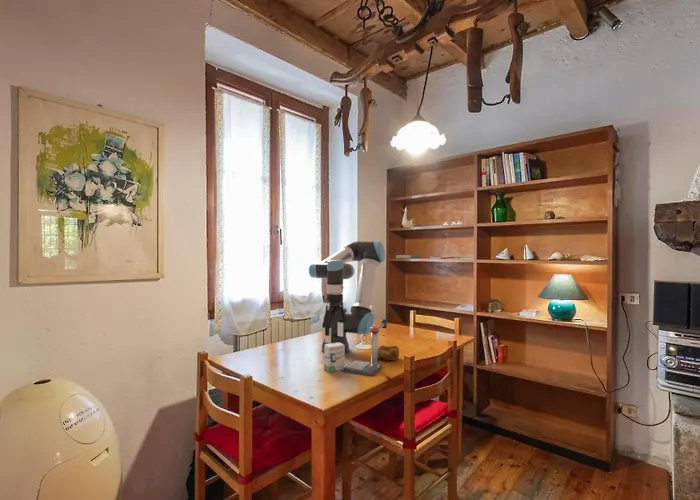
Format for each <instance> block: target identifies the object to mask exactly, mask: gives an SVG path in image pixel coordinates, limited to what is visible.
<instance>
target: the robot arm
mask: <svg viewBox="0 0 700 500" xmlns="http://www.w3.org/2000/svg"><path fill="white" fill-rule="evenodd" d="M385 258H386V251H385V246H384V244H383V243H382V241H375V240H374V241H353V242H350V243H348V244H345V245H343V246H342V247H340V249H339V250H338V251H337V252H335V253H334V254H332V255H330V256H328V257H327V258H325V259H324V260H321V261H320V262H311V264H310V265H309V266H308V267H309V268H308V274H309V276H310V277H311V278H316V279H326V293H327V294H326V302H327V303H329V305H327V304H325V312H324V316H323V322H322V328H323V329H324V337H323V341H322V345H321V352H323V353H324V345H325V344H330V343H339V342H340V343H342V344H344V345H345V354H347V353H349V352H350V344H349V342H348V337H347V333H348V334H356V335H368V334H370V333H371V332H370V327H374V325H375V314H374V313H373V312H372V311H373V310H372V309H371V303H372V297H373V292H374V285H375V280H376V274H377V273H376V272H377V268H379V267H380V266H381V263H383V262H385V260H386V259H385ZM351 262H359V263H360V265H361V269H360V273H359V278H358V284H357V289H356V294H355V299H354V303H353V304H352V306H350V310H348V308H346V307H345V306H344V295H343V294H344V293H343V292H344V289H345V286H344V280H348V279H351V278H353V276H354V275H355V268H354V266H353V265H352V264H350V263H351Z"/></svg>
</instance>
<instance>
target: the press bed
mask: <svg viewBox="0 0 700 500" xmlns="http://www.w3.org/2000/svg"><path fill="white" fill-rule="evenodd" d="M370 333H371V334H370V335H371V336H370V337H371V339H370V341H371V342H370V343H371V346H370V348H371V349H370V351H371V352H370V361H367V360H359V359H358V360H357V359H354V360H352V361H351V362H350V363H349V364H347V365H346V366H345V368H343V370H342V372H345V373H349V374H355V375H356V374H358V375H362V374H364V375H363V376H369V375H371V377H373V376H374V375H375V374H376V373H377V372H379V370H380V369H381V368H382V367H383V363H381V362H380V363H379V362H378V361H379V359H378V348H379V332H378V333H372V332H370ZM372 375H373V376H372Z"/></svg>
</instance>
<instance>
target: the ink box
mask: <svg viewBox="0 0 700 500" xmlns="http://www.w3.org/2000/svg"><path fill="white" fill-rule="evenodd" d="M323 353H324V355H323V357H324V358H323V362H324V363H323V367H324V368H323V370H325V371H326V372H327V373H331V372H338V371H343V368H345V367H346V366H345V364H346V362H345V361H346V357H345V356H346V355H345V354H346V353H345V345H344V344H342V343H340V342H339V343H330V344H325V345H324V352H323Z"/></svg>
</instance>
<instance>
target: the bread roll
mask: <svg viewBox="0 0 700 500" xmlns="http://www.w3.org/2000/svg"><path fill="white" fill-rule="evenodd" d="M399 358H400V348H399V346H397V345H388V346H386V345H380V346H378V361H379V360H381V361H387V362H394V361H395V362H396V361H397V360H398V359H399Z"/></svg>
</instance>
